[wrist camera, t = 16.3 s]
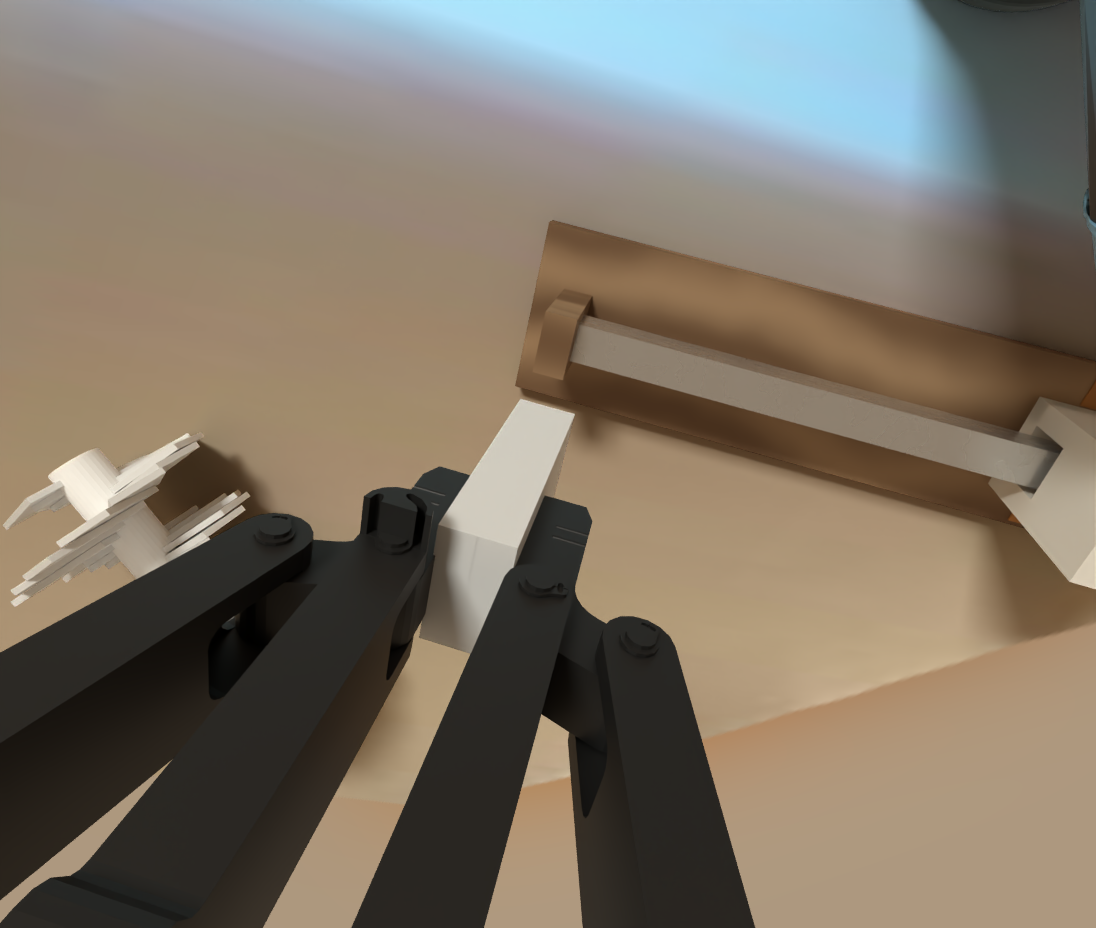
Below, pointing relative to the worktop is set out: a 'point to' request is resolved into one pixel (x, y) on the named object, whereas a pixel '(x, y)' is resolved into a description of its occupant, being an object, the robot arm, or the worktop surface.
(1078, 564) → the sleeve
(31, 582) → the spiral staircase
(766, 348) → the walnut board
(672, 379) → the steel rod
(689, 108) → the worktop surface
